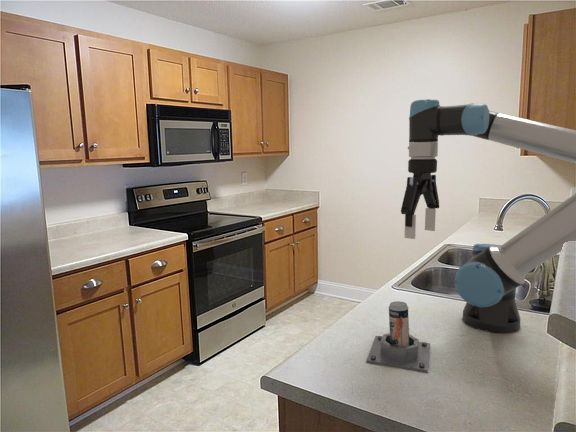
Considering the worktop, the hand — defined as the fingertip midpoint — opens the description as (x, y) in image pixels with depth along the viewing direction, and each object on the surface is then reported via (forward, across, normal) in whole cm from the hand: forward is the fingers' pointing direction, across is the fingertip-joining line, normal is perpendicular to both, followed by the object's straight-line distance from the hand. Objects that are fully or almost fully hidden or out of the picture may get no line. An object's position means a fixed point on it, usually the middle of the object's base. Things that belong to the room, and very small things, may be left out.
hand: (420, 234), depth 116 cm
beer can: (+26, +20, +4) cm, 33 cm away
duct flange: (+27, +20, +4) cm, 33 cm away
